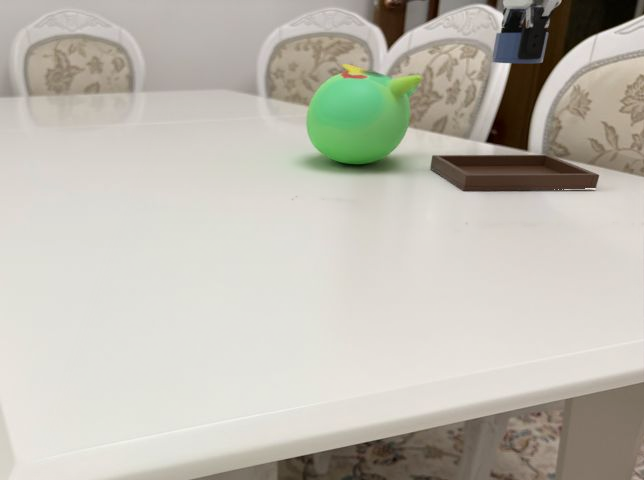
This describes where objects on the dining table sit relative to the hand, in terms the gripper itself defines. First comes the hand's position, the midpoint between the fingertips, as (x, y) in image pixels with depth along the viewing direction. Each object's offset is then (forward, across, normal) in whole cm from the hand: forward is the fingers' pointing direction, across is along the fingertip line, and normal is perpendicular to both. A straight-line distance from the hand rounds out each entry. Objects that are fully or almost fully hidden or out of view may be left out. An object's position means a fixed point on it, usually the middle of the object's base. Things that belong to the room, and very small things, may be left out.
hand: (518, 56), depth 102 cm
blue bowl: (+1, 0, 0) cm, 1 cm away
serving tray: (+16, -12, +3) cm, 20 cm away
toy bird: (+16, 0, +23) cm, 28 cm away
